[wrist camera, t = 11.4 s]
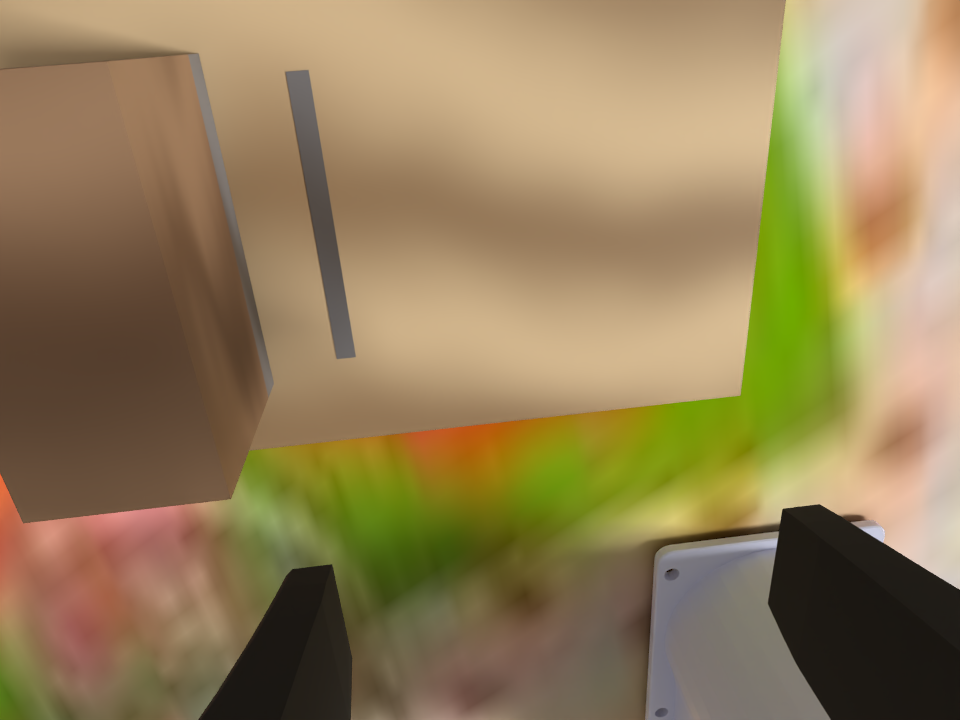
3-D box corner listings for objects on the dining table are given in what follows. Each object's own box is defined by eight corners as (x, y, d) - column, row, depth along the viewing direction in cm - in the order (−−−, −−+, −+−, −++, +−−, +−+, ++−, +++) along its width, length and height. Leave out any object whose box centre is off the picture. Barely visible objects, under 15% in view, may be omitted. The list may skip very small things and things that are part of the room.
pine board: (725, 379, 21) (740, 395, 20) (45, 454, 19) (27, 475, 18) (773, -90, 15) (797, -98, 14) (-156, -28, 14) (-195, -33, 13)
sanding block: (273, 383, 18) (231, 499, 14) (119, 399, 18) (23, 523, 13) (198, 53, 14) (106, 61, 10) (5, 68, 14) (-179, 83, 10)
